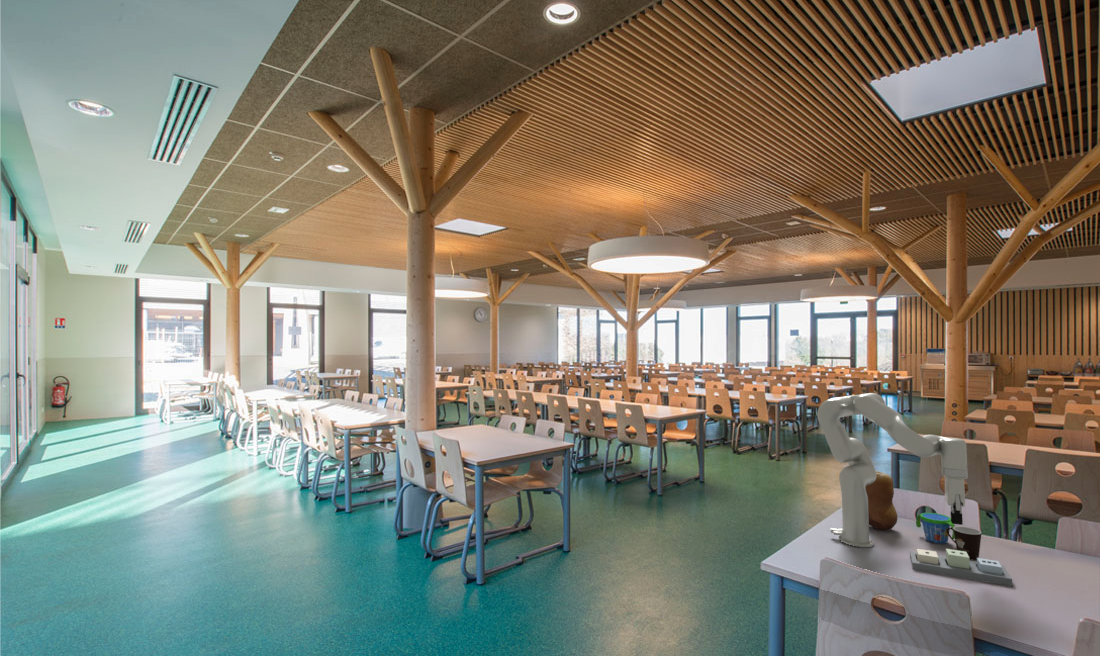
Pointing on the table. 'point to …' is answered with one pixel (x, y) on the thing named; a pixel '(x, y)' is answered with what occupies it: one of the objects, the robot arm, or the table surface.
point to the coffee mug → (967, 540)
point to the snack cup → (935, 527)
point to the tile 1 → (927, 556)
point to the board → (960, 570)
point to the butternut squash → (881, 502)
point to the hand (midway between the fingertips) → (956, 523)
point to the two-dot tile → (957, 558)
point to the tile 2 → (989, 566)
